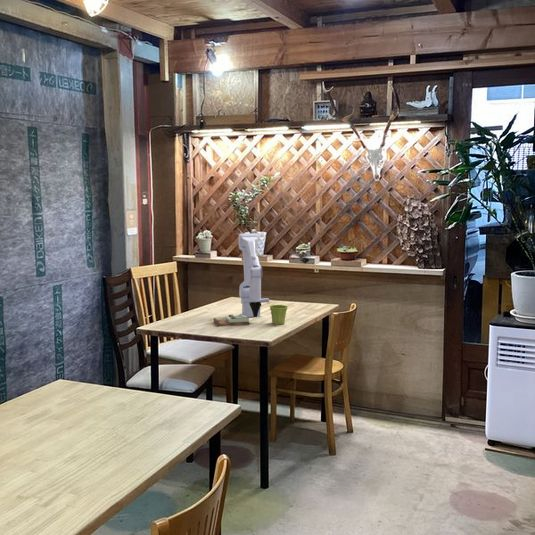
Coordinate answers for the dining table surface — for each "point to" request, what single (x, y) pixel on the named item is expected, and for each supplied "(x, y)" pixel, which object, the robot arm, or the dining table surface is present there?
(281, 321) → the plant pot
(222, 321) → the board
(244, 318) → the panel
